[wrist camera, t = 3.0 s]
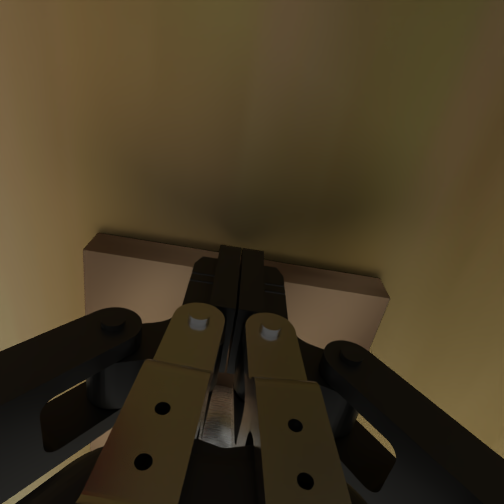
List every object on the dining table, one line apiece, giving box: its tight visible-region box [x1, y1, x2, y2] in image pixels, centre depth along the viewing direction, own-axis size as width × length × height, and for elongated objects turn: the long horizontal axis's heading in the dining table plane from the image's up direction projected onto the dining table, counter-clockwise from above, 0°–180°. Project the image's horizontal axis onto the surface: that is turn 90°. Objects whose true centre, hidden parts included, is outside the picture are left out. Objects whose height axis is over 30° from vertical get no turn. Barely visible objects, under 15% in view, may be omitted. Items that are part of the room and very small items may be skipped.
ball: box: [202, 385, 232, 448], centre depth 16 cm, size 5×5×5 cm
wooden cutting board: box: [83, 233, 390, 451], centre depth 20 cm, size 12×20×2 cm, turn 170°
